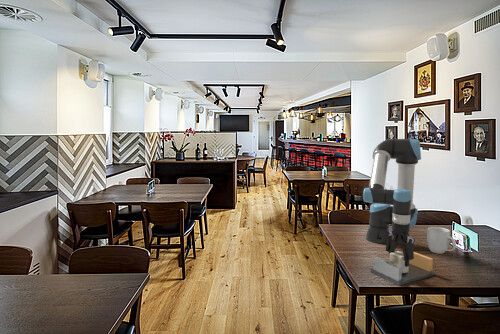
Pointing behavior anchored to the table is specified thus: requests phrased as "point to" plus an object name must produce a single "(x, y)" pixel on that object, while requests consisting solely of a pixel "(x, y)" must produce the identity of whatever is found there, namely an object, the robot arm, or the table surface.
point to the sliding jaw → (422, 262)
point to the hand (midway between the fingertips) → (398, 269)
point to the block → (397, 258)
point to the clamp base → (409, 275)
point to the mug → (439, 239)
